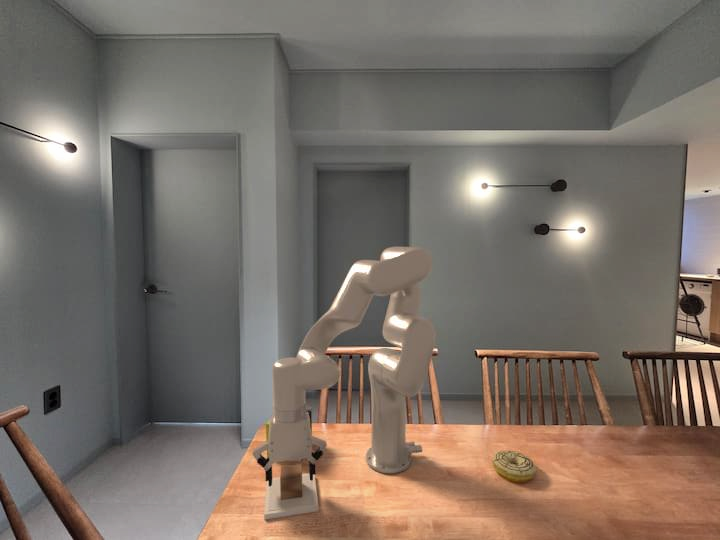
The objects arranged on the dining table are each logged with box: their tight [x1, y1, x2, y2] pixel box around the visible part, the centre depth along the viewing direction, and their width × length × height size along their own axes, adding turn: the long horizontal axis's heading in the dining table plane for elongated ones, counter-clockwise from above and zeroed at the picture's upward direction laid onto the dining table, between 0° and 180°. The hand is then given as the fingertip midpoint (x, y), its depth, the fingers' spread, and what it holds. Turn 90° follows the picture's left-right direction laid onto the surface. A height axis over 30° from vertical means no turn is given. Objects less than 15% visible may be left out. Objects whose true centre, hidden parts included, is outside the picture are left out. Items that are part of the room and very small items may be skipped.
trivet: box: [263, 472, 320, 520], centre depth 86 cm, size 12×12×1 cm
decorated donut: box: [492, 450, 537, 484], centre depth 95 cm, size 10×11×4 cm
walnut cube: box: [279, 463, 303, 500], centre depth 86 cm, size 5×5×5 cm
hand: (291, 479), depth 86 cm, fingers open, 9 cm apart
